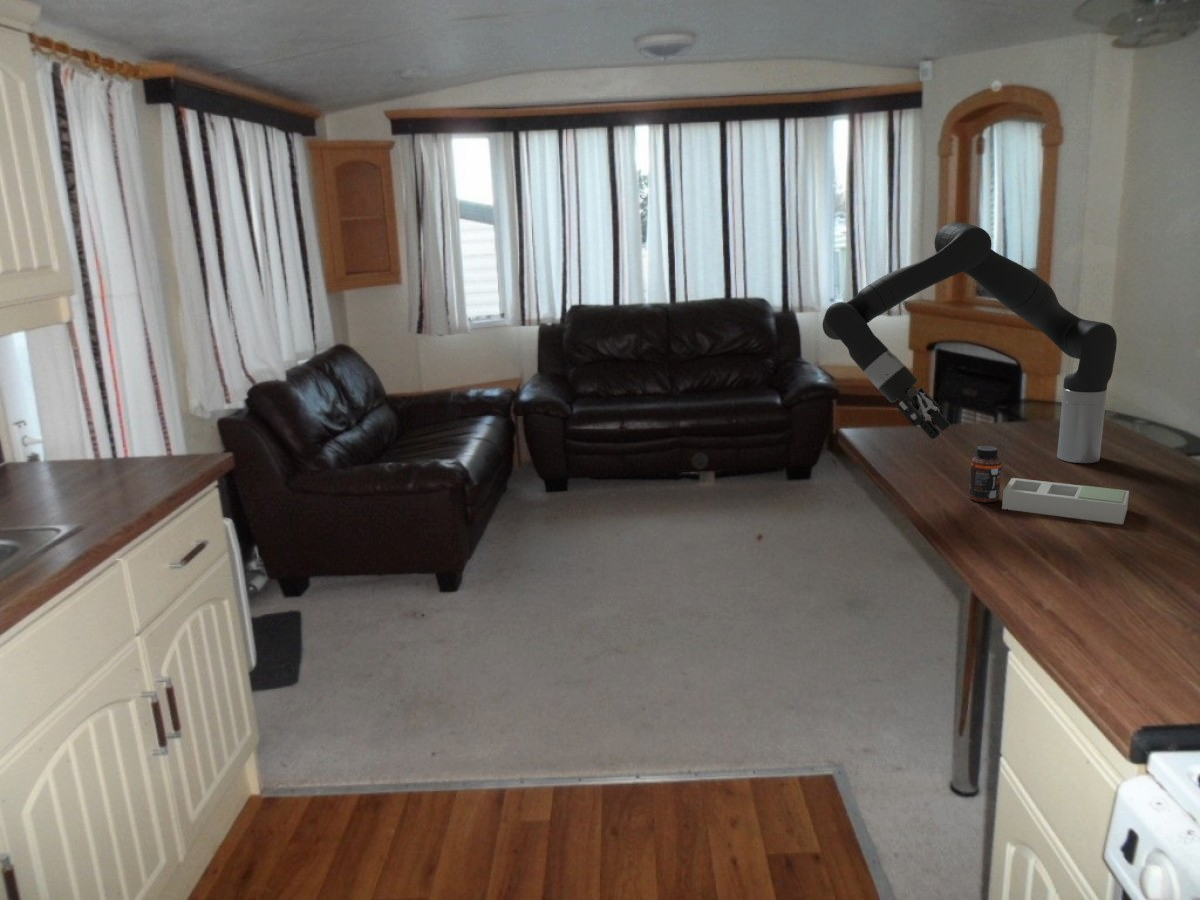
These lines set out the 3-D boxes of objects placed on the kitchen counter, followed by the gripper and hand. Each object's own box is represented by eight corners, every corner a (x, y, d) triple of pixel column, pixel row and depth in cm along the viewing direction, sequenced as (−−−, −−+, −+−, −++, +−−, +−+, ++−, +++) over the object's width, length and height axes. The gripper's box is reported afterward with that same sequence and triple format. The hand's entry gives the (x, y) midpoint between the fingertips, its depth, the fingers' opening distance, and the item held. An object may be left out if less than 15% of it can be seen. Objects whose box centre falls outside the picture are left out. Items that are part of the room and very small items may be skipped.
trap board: (1010, 495, 203) (1012, 476, 202) (1127, 509, 191) (1129, 489, 190) (1001, 508, 194) (1003, 488, 193) (1123, 524, 183) (1125, 503, 182)
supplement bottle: (1001, 504, 197) (1005, 451, 195) (971, 503, 199) (974, 451, 196) (995, 495, 203) (999, 444, 200) (966, 494, 204) (969, 444, 201)
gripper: (893, 370, 198) (947, 428, 195) (912, 359, 209) (963, 414, 206) (868, 393, 202) (920, 450, 199) (887, 381, 213) (936, 435, 210)
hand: (942, 432), depth 202 cm, fingers open, 8 cm apart
